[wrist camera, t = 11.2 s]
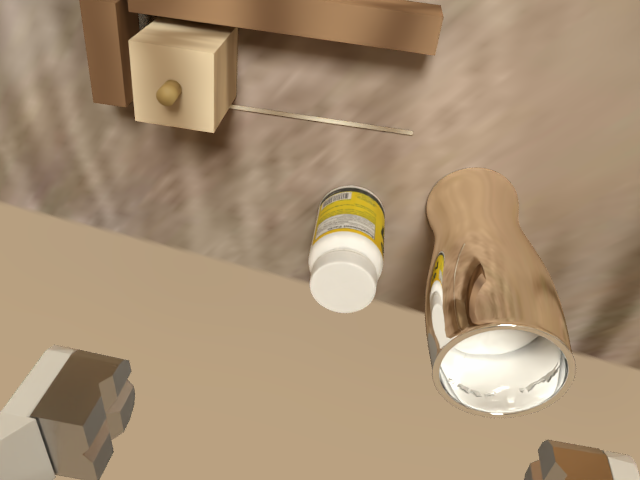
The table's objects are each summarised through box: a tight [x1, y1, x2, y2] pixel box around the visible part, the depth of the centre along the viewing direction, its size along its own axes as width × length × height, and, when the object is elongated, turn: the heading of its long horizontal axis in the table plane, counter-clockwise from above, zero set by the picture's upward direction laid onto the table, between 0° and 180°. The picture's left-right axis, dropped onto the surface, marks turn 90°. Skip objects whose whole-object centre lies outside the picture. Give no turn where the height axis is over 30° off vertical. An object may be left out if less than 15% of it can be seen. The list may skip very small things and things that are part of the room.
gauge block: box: [128, 16, 238, 133], centre depth 32 cm, size 4×4×7 cm
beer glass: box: [425, 167, 576, 418], centre depth 33 cm, size 7×7×15 cm
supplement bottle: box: [308, 186, 385, 313], centre depth 37 cm, size 5×5×8 cm
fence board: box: [79, 0, 443, 135], centre depth 33 cm, size 20×8×3 cm, turn 84°
